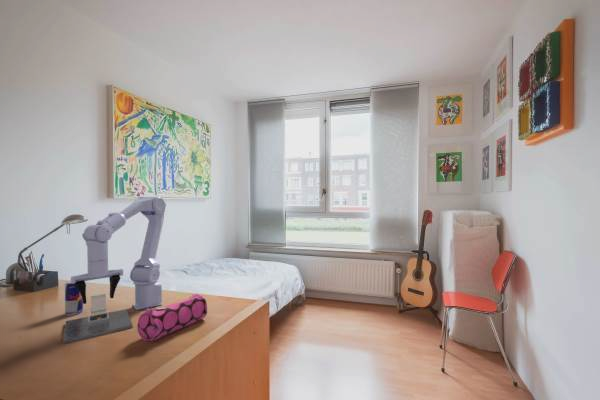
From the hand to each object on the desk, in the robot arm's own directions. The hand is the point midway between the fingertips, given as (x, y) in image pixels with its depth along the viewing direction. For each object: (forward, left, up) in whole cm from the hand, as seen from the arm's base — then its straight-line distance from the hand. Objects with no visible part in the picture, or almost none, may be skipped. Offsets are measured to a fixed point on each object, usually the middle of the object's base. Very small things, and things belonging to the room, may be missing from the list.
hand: (98, 300), depth 100 cm
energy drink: (+7, -20, -9) cm, 23 cm away
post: (0, 0, -5) cm, 5 cm away
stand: (0, 0, -9) cm, 9 cm away
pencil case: (-20, +19, -9) cm, 29 cm away
